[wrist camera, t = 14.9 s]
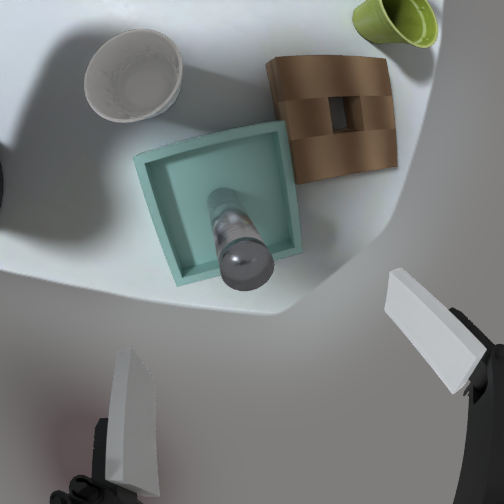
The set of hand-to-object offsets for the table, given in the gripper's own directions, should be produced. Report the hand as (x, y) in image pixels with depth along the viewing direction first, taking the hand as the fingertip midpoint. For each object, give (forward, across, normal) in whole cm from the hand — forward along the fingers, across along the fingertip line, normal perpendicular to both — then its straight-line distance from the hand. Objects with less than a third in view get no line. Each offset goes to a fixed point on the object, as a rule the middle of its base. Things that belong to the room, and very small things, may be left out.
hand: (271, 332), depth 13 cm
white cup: (+22, -5, +15) cm, 27 cm away
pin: (+21, 0, 0) cm, 21 cm away
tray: (+22, 0, 0) cm, 22 cm away
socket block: (+22, +15, +8) cm, 28 cm away
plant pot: (+22, +24, +21) cm, 39 cm away
